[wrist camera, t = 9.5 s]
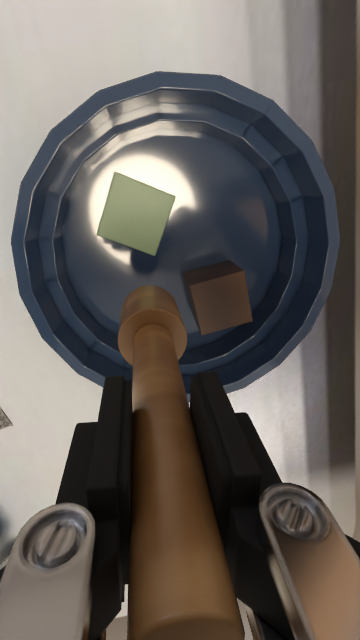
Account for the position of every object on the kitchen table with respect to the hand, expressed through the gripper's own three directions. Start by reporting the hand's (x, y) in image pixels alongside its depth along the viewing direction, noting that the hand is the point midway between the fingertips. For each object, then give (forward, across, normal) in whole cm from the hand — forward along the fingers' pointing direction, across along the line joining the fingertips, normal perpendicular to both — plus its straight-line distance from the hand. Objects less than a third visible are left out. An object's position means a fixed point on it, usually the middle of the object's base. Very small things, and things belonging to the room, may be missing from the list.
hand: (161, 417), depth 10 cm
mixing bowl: (+18, -2, -2) cm, 18 cm away
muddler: (+10, 0, 0) cm, 10 cm away
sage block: (+18, +1, -5) cm, 18 cm away
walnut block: (+18, -5, +1) cm, 18 cm away
